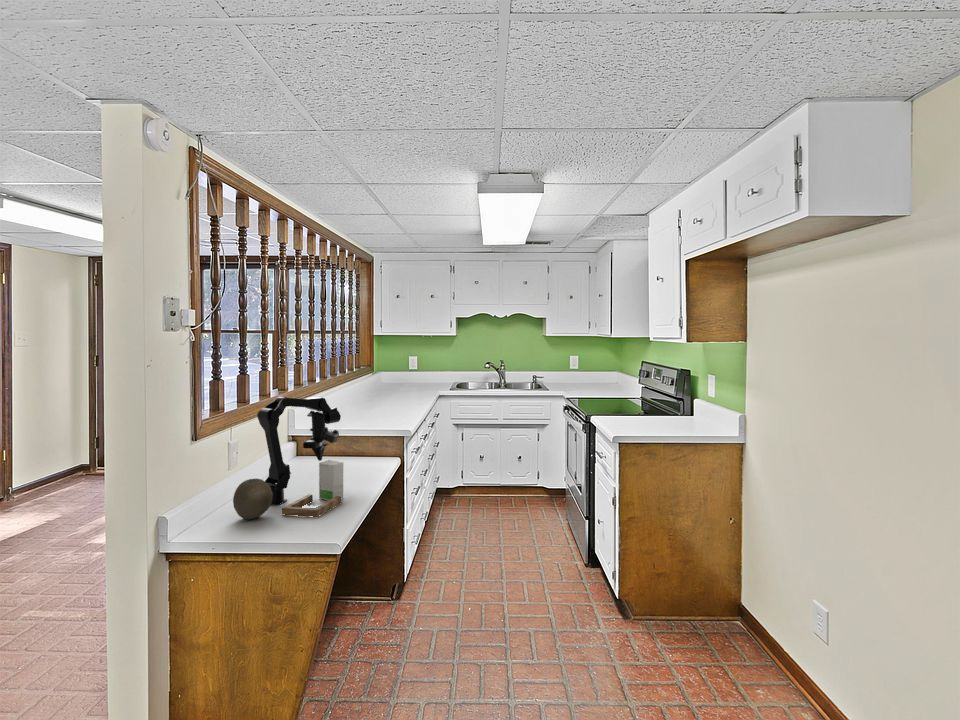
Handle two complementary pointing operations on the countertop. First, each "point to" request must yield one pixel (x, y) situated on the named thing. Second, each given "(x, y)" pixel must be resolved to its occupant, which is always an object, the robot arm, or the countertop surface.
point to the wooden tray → (297, 509)
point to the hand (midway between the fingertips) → (320, 460)
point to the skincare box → (330, 479)
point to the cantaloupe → (252, 498)
